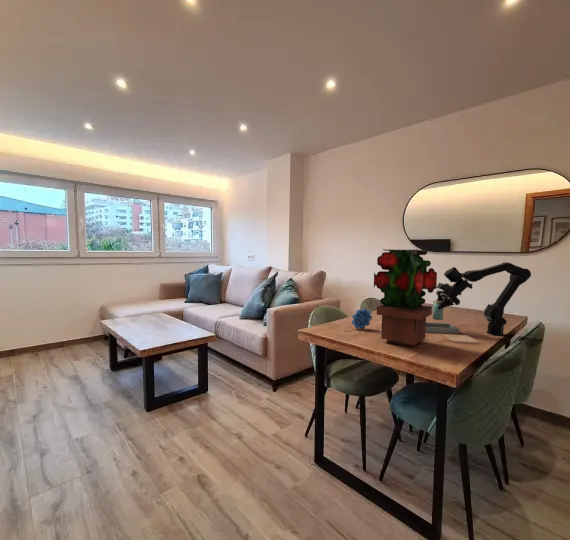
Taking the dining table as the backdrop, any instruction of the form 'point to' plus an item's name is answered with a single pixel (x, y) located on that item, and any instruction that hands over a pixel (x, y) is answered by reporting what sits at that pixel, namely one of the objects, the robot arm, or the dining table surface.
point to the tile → (461, 339)
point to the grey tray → (441, 328)
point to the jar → (437, 310)
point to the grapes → (361, 318)
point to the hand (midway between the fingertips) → (435, 307)
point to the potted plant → (404, 295)
